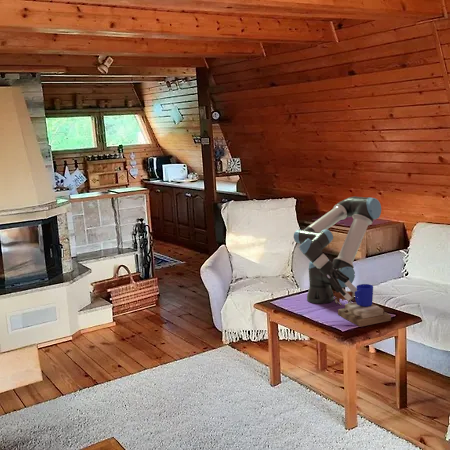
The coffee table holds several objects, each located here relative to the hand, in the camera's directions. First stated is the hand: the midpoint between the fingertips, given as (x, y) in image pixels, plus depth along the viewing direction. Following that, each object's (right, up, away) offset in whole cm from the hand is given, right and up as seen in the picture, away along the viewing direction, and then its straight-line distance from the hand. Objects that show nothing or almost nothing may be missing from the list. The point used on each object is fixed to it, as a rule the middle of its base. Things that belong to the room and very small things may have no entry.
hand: (352, 295), depth 287 cm
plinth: (+6, -11, 0) cm, 13 cm away
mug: (+5, -6, 0) cm, 8 cm away
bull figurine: (+1, -8, +23) cm, 24 cm away
